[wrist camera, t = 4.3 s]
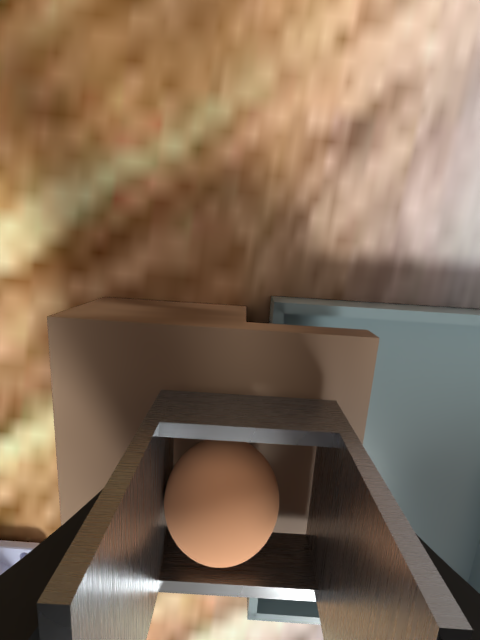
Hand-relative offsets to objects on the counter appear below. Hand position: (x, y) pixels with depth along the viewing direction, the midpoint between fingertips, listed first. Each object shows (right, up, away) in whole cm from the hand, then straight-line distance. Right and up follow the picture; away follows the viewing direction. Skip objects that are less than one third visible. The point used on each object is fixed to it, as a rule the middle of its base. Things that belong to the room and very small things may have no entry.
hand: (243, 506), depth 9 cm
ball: (-1, 0, 0) cm, 1 cm away
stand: (-2, +1, +6) cm, 6 cm away
